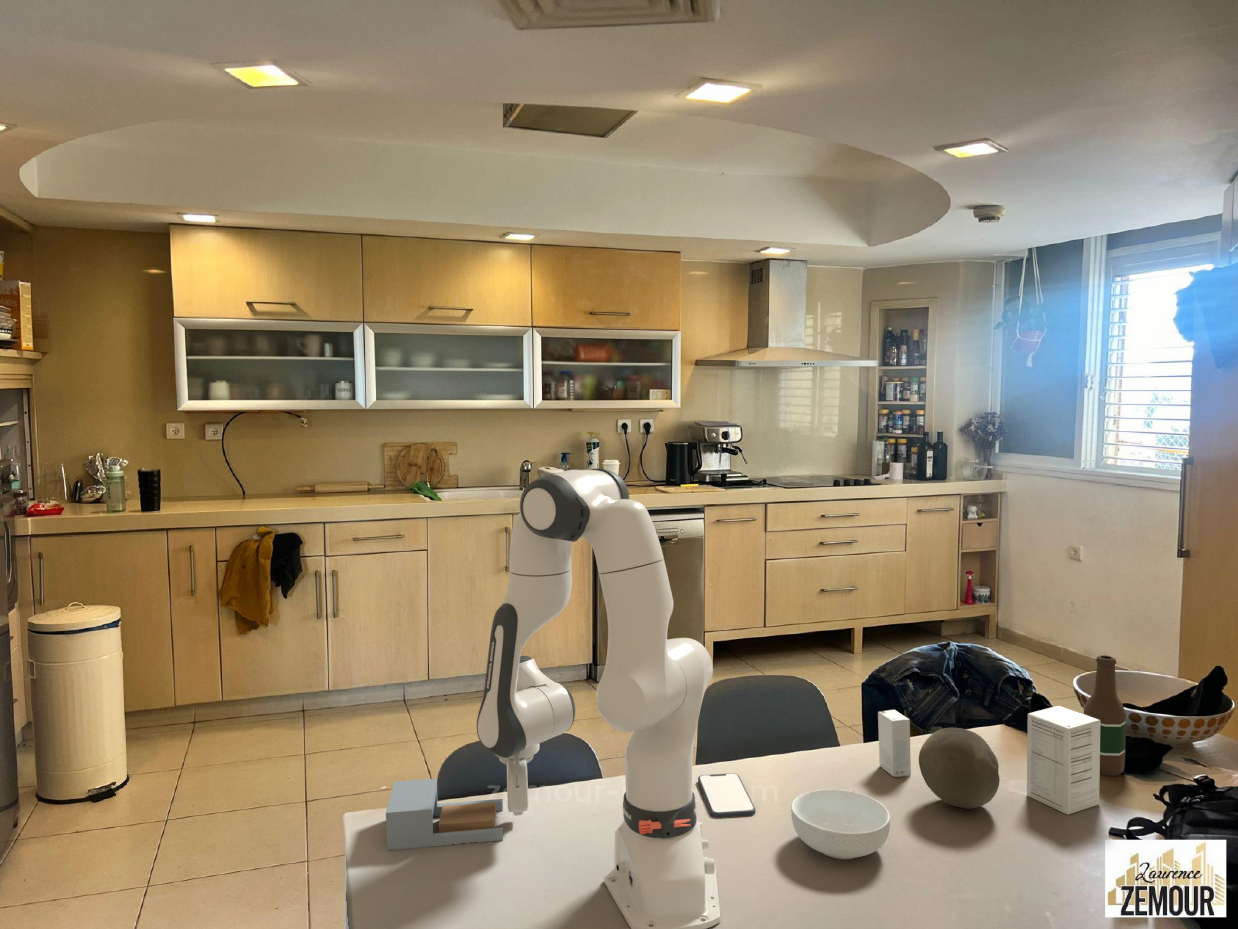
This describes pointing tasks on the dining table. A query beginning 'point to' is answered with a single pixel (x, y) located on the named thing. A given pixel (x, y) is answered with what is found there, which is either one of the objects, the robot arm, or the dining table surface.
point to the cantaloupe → (959, 767)
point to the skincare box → (894, 743)
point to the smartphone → (725, 795)
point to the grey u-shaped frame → (427, 818)
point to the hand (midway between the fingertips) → (518, 811)
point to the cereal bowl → (840, 822)
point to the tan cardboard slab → (467, 817)
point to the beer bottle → (1108, 717)
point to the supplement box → (1063, 759)
